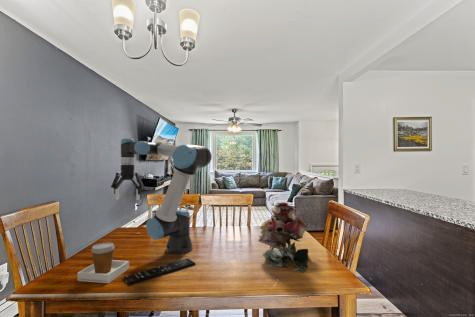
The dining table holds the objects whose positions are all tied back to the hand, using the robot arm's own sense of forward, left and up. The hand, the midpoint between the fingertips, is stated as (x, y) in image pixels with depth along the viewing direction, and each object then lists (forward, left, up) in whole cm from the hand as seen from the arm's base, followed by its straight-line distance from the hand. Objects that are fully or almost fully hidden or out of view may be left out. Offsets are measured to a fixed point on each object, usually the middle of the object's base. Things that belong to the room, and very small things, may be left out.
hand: (127, 199), depth 150 cm
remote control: (-35, +27, -29) cm, 53 cm away
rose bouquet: (-92, +4, -29) cm, 96 cm away
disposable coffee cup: (-10, +34, -28) cm, 45 cm away
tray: (-10, +34, -29) cm, 46 cm away
